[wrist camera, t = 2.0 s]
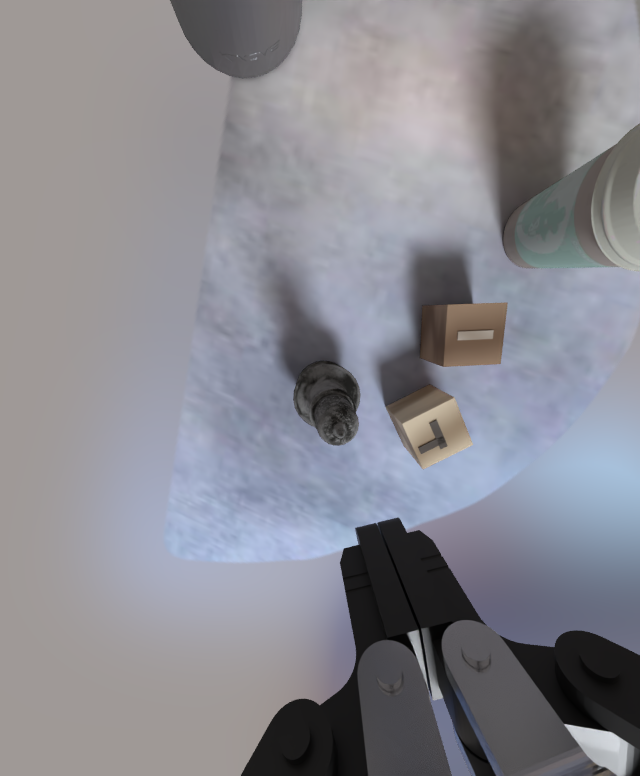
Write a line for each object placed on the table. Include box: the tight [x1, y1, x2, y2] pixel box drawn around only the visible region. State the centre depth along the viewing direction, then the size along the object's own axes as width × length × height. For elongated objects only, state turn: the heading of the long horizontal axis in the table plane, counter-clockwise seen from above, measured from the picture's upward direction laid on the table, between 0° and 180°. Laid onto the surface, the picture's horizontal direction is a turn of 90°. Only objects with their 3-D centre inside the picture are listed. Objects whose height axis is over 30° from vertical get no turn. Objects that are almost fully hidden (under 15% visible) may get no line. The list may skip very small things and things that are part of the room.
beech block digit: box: [386, 384, 473, 469], centre depth 29 cm, size 5×5×5 cm
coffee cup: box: [503, 124, 640, 271], centre depth 23 cm, size 8×8×12 cm
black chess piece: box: [293, 361, 360, 445], centre depth 24 cm, size 6×6×12 cm
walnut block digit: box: [420, 303, 507, 367], centre depth 28 cm, size 5×5×5 cm
